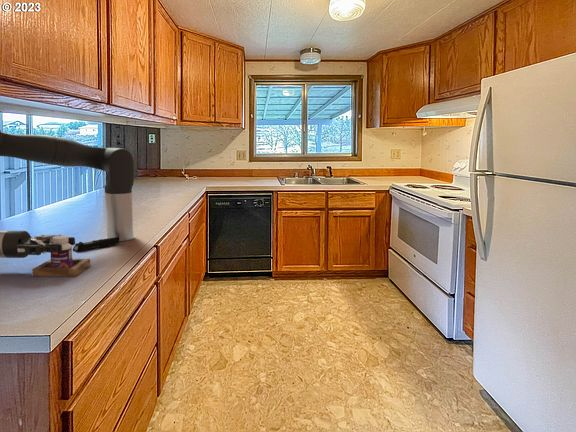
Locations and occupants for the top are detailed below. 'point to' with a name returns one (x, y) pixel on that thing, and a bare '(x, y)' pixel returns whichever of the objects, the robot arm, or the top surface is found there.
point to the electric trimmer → (95, 244)
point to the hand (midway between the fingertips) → (68, 244)
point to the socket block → (48, 271)
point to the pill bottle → (62, 253)
